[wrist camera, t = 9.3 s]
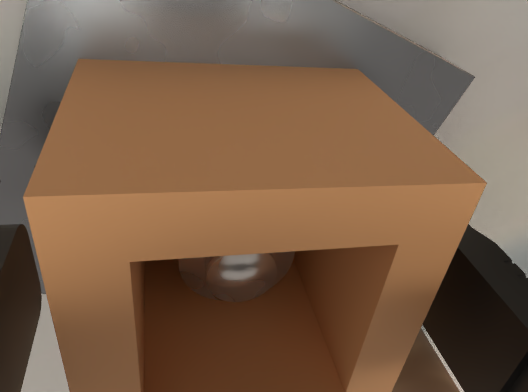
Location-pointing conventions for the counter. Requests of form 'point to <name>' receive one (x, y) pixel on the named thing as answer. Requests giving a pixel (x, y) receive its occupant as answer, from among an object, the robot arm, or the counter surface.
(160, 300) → the orange square tube
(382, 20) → the counter surface
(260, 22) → the gray square plate
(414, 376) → the stand
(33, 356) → the counter surface
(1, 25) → the counter surface
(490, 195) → the counter surface
